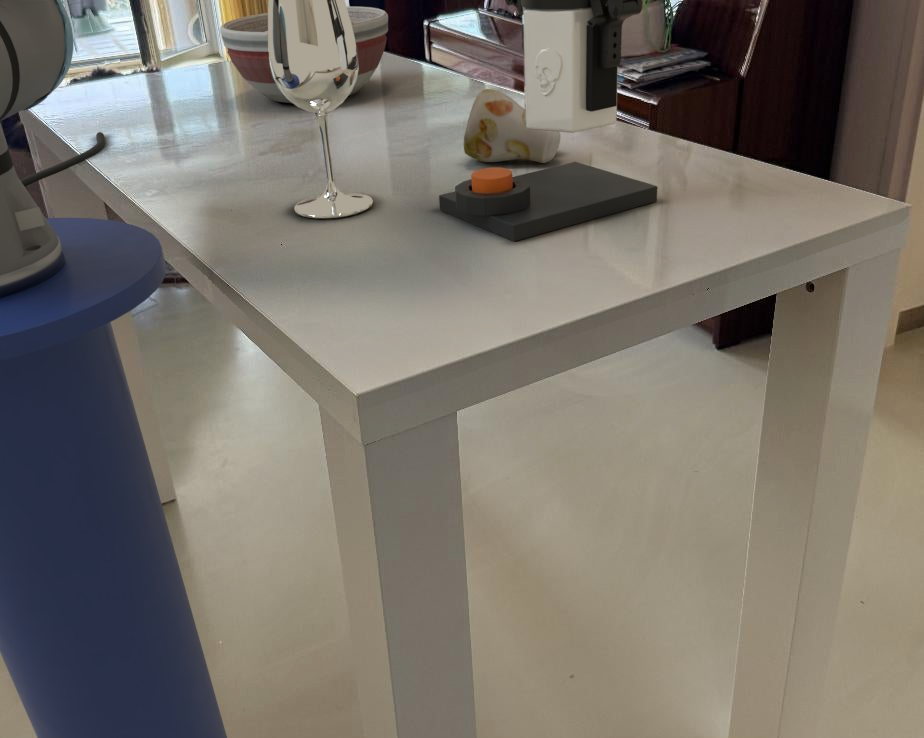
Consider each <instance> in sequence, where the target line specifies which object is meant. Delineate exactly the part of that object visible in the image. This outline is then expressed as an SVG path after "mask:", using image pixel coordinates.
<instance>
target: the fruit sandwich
mask: <svg viewBox="0 0 924 738" xmlns="http://www.w3.org/2000/svg"><path fill="white" fill-rule="evenodd" d="M560 143H561V132H557V131H543V130H530V129H528V128H527V127H526V119H525V107H522V106H521V105H520V104H519V103H518V102H517V101H515V100H514V99H513V98H512V97H510V96H509V95H507V94H506V93H504V92H502V91H500V90H496V89H492V88H490V89H489V88H485V89H481V91H480V92H479V93H478V94H477V95H476V97H475V99H474V101H473V103H472V106H471V109H470V112H469V116H468V119H467V123H466V127H465V130H464V136H463V151H464V152H463V153H464V154H465V155H467V156H468V157H470V158H471V159H474V160H476V161H478V162H484V163H498V162H499V163H500V162H506V161H513V160H514V161H515V160H527V161H531V162H537V163H539V164H546V163H548V162H550V161H551V160H553V158H554V157H555V156H556V155H557V152H558V149H559V148H560Z"/></svg>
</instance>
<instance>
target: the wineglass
mask: <svg viewBox="0 0 924 738" xmlns="http://www.w3.org/2000/svg"><path fill="white" fill-rule="evenodd" d="M267 13H268V50H269V60H270V67H271V71H272V76H273V78H274V80H275V83H276V85H277V87H278V88H279V90H280V91H281V92H282V93H283V95H284V96H285V97H286V98H287V99H288V100H289V101H291V102H292V103H291V104H293V105H294V106H296V107H297V108H299V109H301V110H303V111H305V112H308V113H312V115H313V116H314V118H315V121H316V124H317V128H318V132H319V136H320V142H321V149H322V156H323V164H324V171H325V179H326V180H325V181H326V183H325V189H324V191H323V192H322V193H321V194H317V195H313V196H309V197H307V198H304V199H302V200H300V201H298V202H297V203H295V205H294V209H293V210H294V213H295V214H296V215H298V216H301V217H303V218H308V219H317V220H329V219H339V218H346V217H351V216H354V215H357V214H360V213H362V212H365V211H367V210H369V209H370V208H371V207H373V204H374V200H373V198H372V197H371V196H369V195H367V194H364V193H362V192H361V193H360V192H351V191H341V190H340V189H339V188H338V185H337V184H336V182H335V181H336V180H335V177H334V170H333V162H332V154H331V147H330V141H329V140H330V137H329V116H330V112H331V111H334V110H335V109H336V108H338V107H339V106H340V105H342V104H343V103H344V102H345V100H346V99H347V98H348V95H349V94H350V93H351V92H352V89H353V87H354V85H355V83H356V81H357V76H358V70H359V67H358V53H357V47H356V42H355V37H354V32H353V28H352V24H351V21H350V17H349V14H348V10H347V3H346V0H268V1H267ZM349 96H350V95H349Z"/></svg>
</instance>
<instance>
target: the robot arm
mask: <svg viewBox="0 0 924 738" xmlns="http://www.w3.org/2000/svg"><path fill="white" fill-rule="evenodd" d="M504 1H505V4H506V5H507V6H513V7H514V8H516V11H517V13H518V15H519V16H520V18H521V40H522V41H521V49H523V18H522V5H521V0H504ZM607 1H608V6H606V2H607ZM590 4H591V8H592V12H593V18H592V19H590V20H589V21H587V23H588V25H587V62H586V110H587V111H591V112H592V111H597V110H601V109H606V108H610V107H615V106H617V107H618V80H617V66H618V67H619V66H620V64H621V60H622V39H623V37H622V35H623V32H622V31H623V24H624V21H625V20H626V19H629V18H630V17H632V16H636V15H639V14H641V12H642V10H643V0H590ZM73 56H74V33H73V27H72V23H71V19H70V17H69V14H68V11H67V8H66V6H65V5H64V2H63V1H62V0H0V298H3V297H6V296H9V295H12V294H15V293H18V292H21V291H24V290H26V289H29V288H31V287H34V286H36V285H38V284H40V283H42V282H44V281H46V280H47V279H49V278H51V277H52V276H54V275H55V274H56V273H57V272H58V271H60V269H61V268H62V267H63V266H64V264H65V257H64V253H63V250H62V247H61V243H60V240H59V237H58V236H57V235H56V233H55V231H54V230H53V228H52V227H51V225H50V224H49V222H48V221H47V219H46V218H47V217H46V216H45V215H44V213H43V212H42V211H41V207H40V206H38V204H37V203H36V202H35V200H34V199H33V197H32V196H31V194H30V192H29V191H28V190H27V186H30V185H32V184H34V183H36V182H38V181H41V180H43V179H45V178H49V177H51V176H53V175H55V174H58V173H60V172H63V171H65V170H67V169H69V168H72V167H74V166H76V165H78V164H80V163H82V162H84V161H86V160H88V159H91V158H92V157H94V156H96V155H98V154H99V153H100V152H101V151H103V149H104V148H105V147H106V139H105V133H103V132H101V131H98V132H97V133H96V135H95V136H96V137H95V138H96V143H95V144H94V146H92V147H91V148H89V149H87V150H86V151H84V152H81V153H79V154H78V155H75V156H73V157H71V158H68V159H66V160H64V161H62V162H60V163H58V164H55V165H53V166H50V167H48V168H45V169H43V170H40V171H38V172H35V173H33V174H30V175H28V176H26V177H23V178H22V179H20V178H19V176H18V174H17V172H16V169H15V166H14V162H13V159H12V156H11V153H10V150H9V146H8V143H7V139H6V135H5V133H4V130H3V127H2V123H1V121H4V120H6V119H7V118H10V117H12V116H14V115H16V114H17V113H20V112H22V111H27V110H30V109H32V108H34V107H36V106H38V105H39V104H41V103H43V101H45V100H46V99H47V98H48V97H49V96H50V95H51V94H52V93H53V92H54V91H55V90H57V88H58V87H59V86H61V84H62V82H63V81H64V79H65V77H66V76H67V74H68V72H69V69H70V67H71V64H72V60H73Z"/></svg>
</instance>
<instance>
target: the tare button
mask: <svg viewBox="0 0 924 738" xmlns="http://www.w3.org/2000/svg"><path fill="white" fill-rule="evenodd" d="M512 177H513V171H512V170H511V169H510V168H506V167H484V168H480V169H477V170H474V171H472V172H471V174H470V180H471V182H472V191H473V192H475V193H484V194H491V193H501V192H505V191H509V190H512V189H513V178H512Z"/></svg>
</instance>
